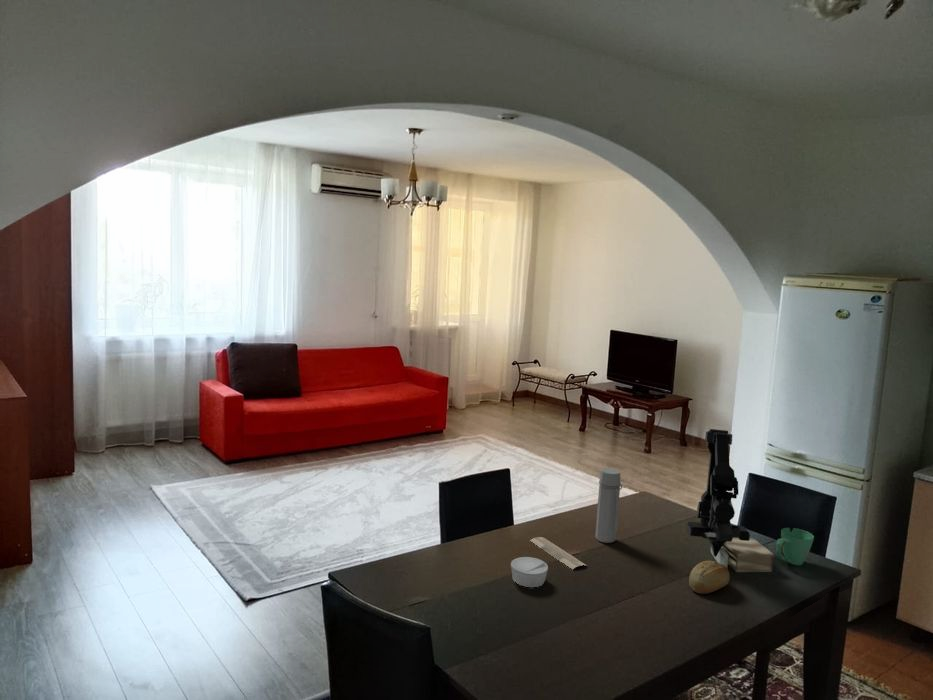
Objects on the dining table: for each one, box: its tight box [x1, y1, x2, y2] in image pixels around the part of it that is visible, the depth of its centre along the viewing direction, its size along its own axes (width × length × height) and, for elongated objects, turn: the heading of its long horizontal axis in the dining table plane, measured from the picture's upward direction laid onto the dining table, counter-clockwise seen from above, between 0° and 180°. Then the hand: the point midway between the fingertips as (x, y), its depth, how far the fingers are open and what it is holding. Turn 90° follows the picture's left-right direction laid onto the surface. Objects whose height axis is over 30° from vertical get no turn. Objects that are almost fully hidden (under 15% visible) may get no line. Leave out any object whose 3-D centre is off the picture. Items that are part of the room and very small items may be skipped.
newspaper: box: [529, 536, 588, 571], centre depth 219 cm, size 24×7×2 cm, turn 30°
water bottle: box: [595, 467, 623, 544], centre depth 230 cm, size 9×8×25 cm
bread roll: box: [688, 560, 731, 595], centre depth 200 cm, size 10×15×8 cm, turn 129°
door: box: [709, 546, 728, 569], centre depth 219 cm, size 15×1×6 cm, turn 176°
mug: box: [775, 527, 815, 566], centre depth 220 cm, size 15×10×10 cm
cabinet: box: [722, 535, 774, 573], centre depth 220 cm, size 15×12×6 cm
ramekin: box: [510, 556, 549, 588], centre depth 199 cm, size 11×11×5 cm
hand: (714, 556), depth 216 cm, fingers closed
